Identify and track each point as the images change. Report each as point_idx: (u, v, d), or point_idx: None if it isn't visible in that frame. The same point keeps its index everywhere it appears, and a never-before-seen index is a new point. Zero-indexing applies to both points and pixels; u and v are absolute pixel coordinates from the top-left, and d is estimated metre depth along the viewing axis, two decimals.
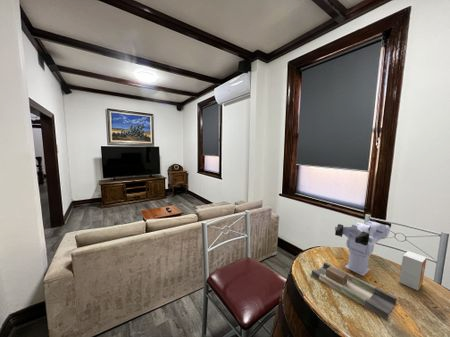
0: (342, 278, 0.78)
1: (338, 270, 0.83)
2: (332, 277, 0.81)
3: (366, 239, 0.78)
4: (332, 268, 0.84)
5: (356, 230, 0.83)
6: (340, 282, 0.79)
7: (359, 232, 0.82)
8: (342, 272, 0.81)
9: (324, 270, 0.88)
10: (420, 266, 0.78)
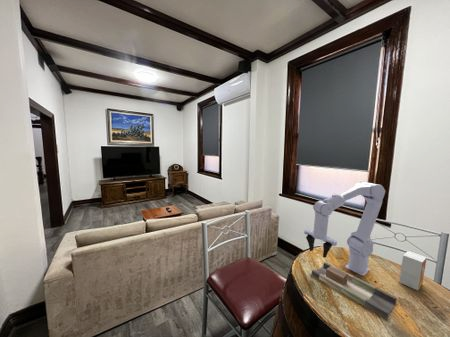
0: (342, 278, 0.78)
1: (338, 270, 0.83)
2: (332, 277, 0.81)
3: None
4: (332, 268, 0.84)
5: None
6: (340, 282, 0.79)
7: None
8: (342, 272, 0.81)
9: (324, 270, 0.88)
10: (420, 266, 0.78)
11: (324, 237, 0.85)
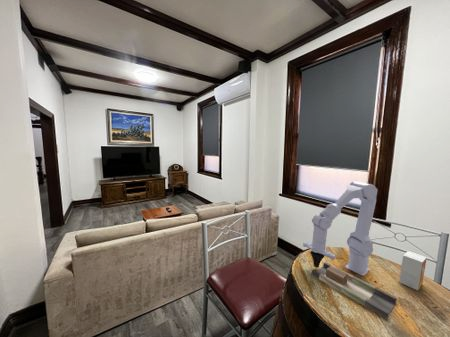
0: (342, 278, 0.78)
1: (338, 270, 0.83)
2: (332, 277, 0.81)
3: None
4: (332, 268, 0.84)
5: None
6: (340, 282, 0.79)
7: None
8: (342, 272, 0.81)
9: (324, 270, 0.88)
10: (420, 266, 0.78)
11: (323, 251, 0.86)
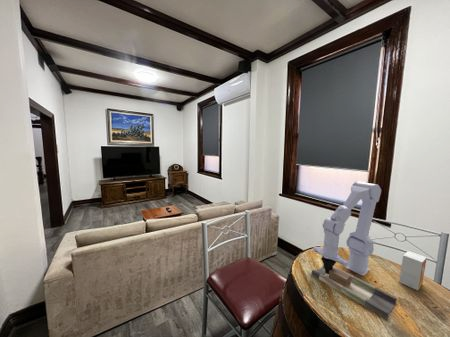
0: (345, 280, 0.77)
1: (341, 272, 0.82)
2: (335, 279, 0.80)
3: None
4: (335, 270, 0.82)
5: None
6: (343, 284, 0.78)
7: None
8: (345, 274, 0.80)
9: (324, 270, 0.88)
10: (420, 266, 0.78)
11: (335, 257, 0.82)
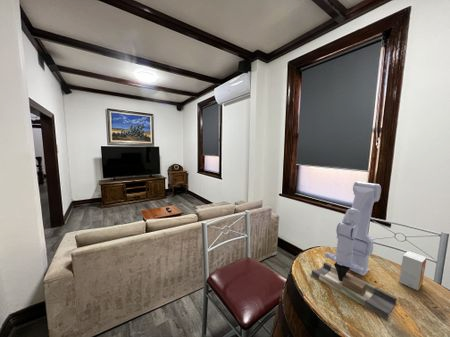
0: (361, 288, 0.73)
1: (356, 279, 0.77)
2: (349, 287, 0.76)
3: None
4: (349, 277, 0.78)
5: None
6: (359, 292, 0.73)
7: None
8: (360, 281, 0.76)
9: (324, 270, 0.88)
10: (420, 266, 0.78)
11: (349, 263, 0.77)
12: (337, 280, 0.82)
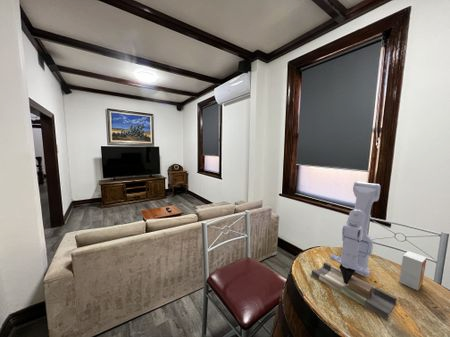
0: (367, 292, 0.71)
1: (362, 282, 0.75)
2: (355, 290, 0.74)
3: None
4: (354, 280, 0.76)
5: None
6: (365, 296, 0.71)
7: None
8: (366, 284, 0.74)
9: (324, 270, 0.88)
10: (420, 266, 0.78)
11: (355, 266, 0.75)
12: (337, 280, 0.82)
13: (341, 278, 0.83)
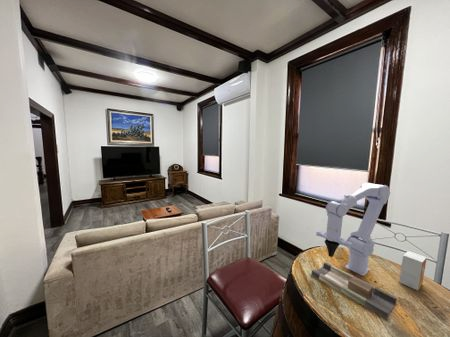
0: (367, 292, 0.71)
1: (362, 282, 0.75)
2: (355, 290, 0.74)
3: None
4: (354, 280, 0.76)
5: None
6: (365, 296, 0.71)
7: None
8: (366, 284, 0.74)
9: (324, 270, 0.88)
10: (420, 266, 0.78)
11: (338, 239, 0.82)
12: (337, 280, 0.82)
13: (341, 278, 0.83)
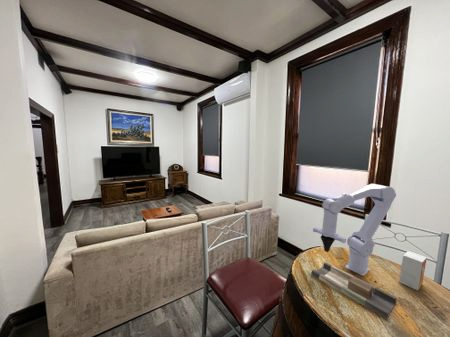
0: (367, 292, 0.71)
1: (362, 282, 0.75)
2: (355, 290, 0.74)
3: None
4: (354, 280, 0.76)
5: None
6: (365, 296, 0.71)
7: None
8: (366, 284, 0.74)
9: (324, 270, 0.88)
10: (420, 266, 0.78)
11: (333, 234, 0.86)
12: (337, 280, 0.82)
13: (341, 278, 0.83)
